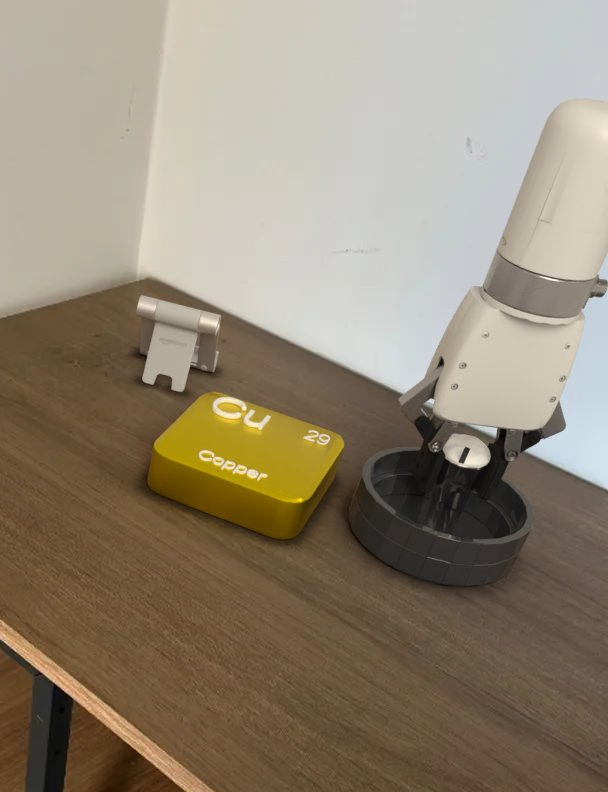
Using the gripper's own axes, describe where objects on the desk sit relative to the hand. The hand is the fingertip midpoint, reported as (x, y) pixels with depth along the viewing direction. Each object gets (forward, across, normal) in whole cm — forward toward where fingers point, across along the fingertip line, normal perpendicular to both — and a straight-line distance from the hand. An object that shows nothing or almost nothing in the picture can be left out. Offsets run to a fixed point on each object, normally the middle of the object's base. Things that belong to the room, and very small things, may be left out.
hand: (451, 486), depth 85 cm
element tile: (+6, +17, -6) cm, 19 cm away
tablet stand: (+6, +23, -27) cm, 36 cm away
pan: (+6, 0, 0) cm, 6 cm away
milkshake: (+5, 0, 0) cm, 5 cm away
